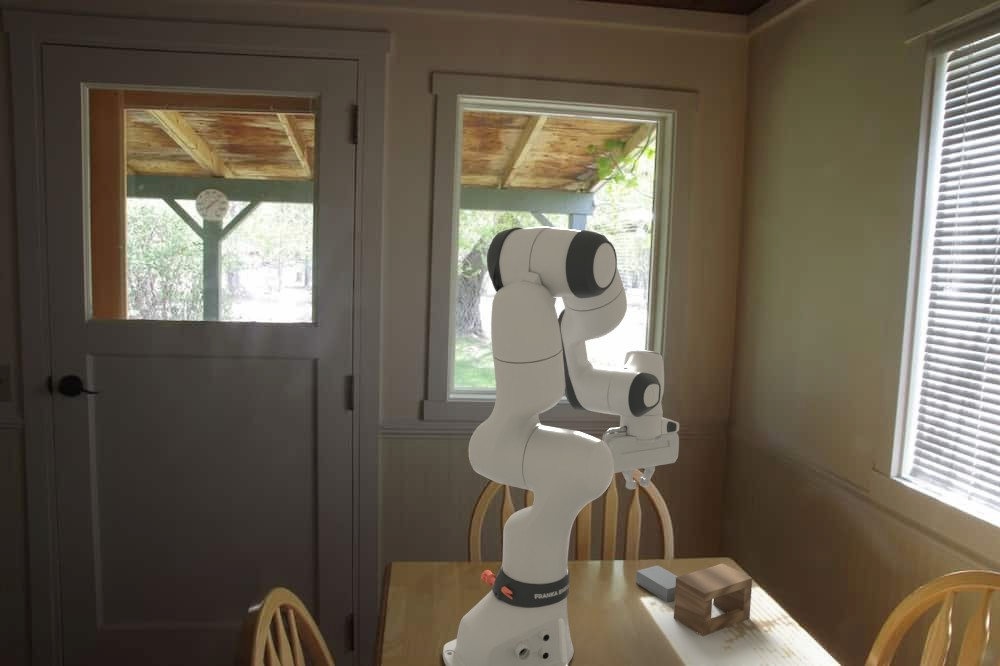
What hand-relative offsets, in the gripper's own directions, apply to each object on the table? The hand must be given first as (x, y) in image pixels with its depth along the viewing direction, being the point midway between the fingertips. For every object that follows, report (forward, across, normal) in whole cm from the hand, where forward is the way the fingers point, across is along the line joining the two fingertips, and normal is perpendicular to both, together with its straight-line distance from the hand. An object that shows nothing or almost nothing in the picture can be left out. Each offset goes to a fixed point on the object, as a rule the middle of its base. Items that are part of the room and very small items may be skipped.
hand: (637, 487), depth 139 cm
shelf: (+19, 0, -22) cm, 29 cm away
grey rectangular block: (+20, 0, -8) cm, 21 cm away
